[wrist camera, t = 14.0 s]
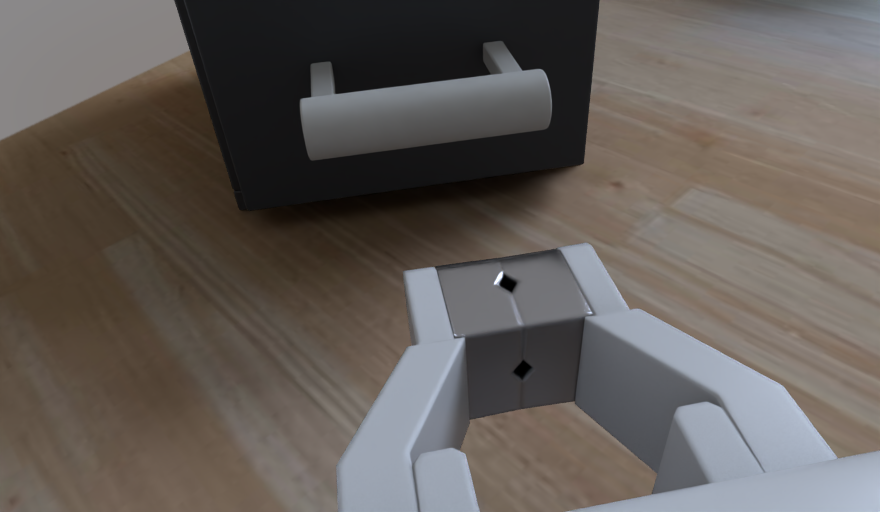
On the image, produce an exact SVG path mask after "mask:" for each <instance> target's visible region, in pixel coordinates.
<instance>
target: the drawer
mask: <svg viewBox="0 0 880 512" xmlns="http://www.w3.org/2000/svg"><path fill="white" fill-rule="evenodd" d="M184 2H185V5H186V9H187V12H188V15H189V19H190V22H191V25H192V29H193V32H194V35H195V39H196V42H197V45H198V49H199V52H200V55H201V59H202V62H203V65H204V69H205V72H206V75H207V79H208V82H209V85H210V89H211V92H212V95H213V99H214V102H215V105H216V109H217V112H218V115H219V119H220V122H221V125H222V128H223V132H224V135H225V138H226V142H227V145H228V148H229V152H230V155H231V158H232V162H233V165H234V168H235V172H236V175H237V178H238V182H239V185H240V188H241V192H242V195H243V198H244V202H245V205H246V208H247V210H248V211H252V210H259V209H266V208H273V207H280V206H287V205H295V204H302V203H309V202H316V201H323V200H330V199H337V198H345V197H352V196H359V195H366V194H373V193H380V192H387V191H395V190H402V189H409V188H416V187H423V186H430V185H437V184H444V183H452V182H459V181H466V180H473V179H480V178H487V177H494V176H502V175H509V174H516V173H523V172H530V171H537V170H544V169H552V168H559V167H566V166H573V165H580V164H583V163H584V155H585V145H586V134H587V124H588V114H589V103H590V93H591V83H592V72H593V62H594V52H595V42H596V31H597V21H598V11H599V0H184Z"/></svg>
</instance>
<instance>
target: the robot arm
mask: <svg viewBox="0 0 880 512" xmlns="http://www.w3.org/2000/svg"><path fill="white" fill-rule="evenodd" d="M403 280H404V289H405V297H406V305H407V313H408V321H409V329H410V336H411V343H412V346H409V347H407V348H406V350H405V351H404V353H403V355H402V356H401V358H400V360H399V361H398V363H397V365H396V366H395V368H394V370H393V371H392V373H391V375H390V376H389V378H388V380H387V381H386V383H385V385H384V386H383V388H382V390H381V392H380V393H379V395H378V397H377V398H376V400H375V402H374V403H373V405H372V407H371V408H370V410H369V412H368V413H367V415H366V417H365V418H364V420H363V422H362V423H361V425H360V427H359V428H358V430H357V432H356V433H355V435H354V437H353V439H352V440H351V442H350V444H349V445H348V447H347V449H346V450H345V452H344V454H343V455H342V457H341V459H340V460H339V462H338V464H337V465H336V470H337V495H338V512H480V511H479V507H478V503H477V499H476V495H475V491H474V487H473V483H472V479H471V475H470V470H469V466H468V462H467V458H466V454H464V453H462V452H460V448H461V445H462V443H463V440H464V437H465V435H466V432H467V429H468V426H469V424H470V420H471V419H476V418H481V417H485V416H490V415H495V414H500V413H505V412H510V411H515V410H519V409H526V408H532V407H539V406H546V405H552V404H559V403H566V402H572V401H575V404H576V405H577V406H578V407H579V408H581V409H582V410H583V411H584V412H585V413H586V414H588V415H589V416H590V417H591V418H592V419H593V420H595V421H596V422H597V423H598V424H599V425H601V426H602V427H603V428H604V429H605V430H606V431H608V432H609V433H610V434H611V435H612V436H614V437H615V438H616V439H617V440H618V441H619V442H621V443H622V444H623V445H624V446H625V447H627V448H628V449H629V450H630V451H631V452H632V453H634V454H635V455H636V456H637V457H638V458H640V459H641V460H642V461H643V462H644V463H645V464H647V465H648V466H649V467H650V468H651V469H652V470H654V471H655V472H656V473H657V477H656V481H655V484H654V488H653V492H652V495H648V496H643V497H638V498H633V499H628V500H622V501H617V502H612V503H607V504H602V505H597V506H592V507H587V508H581V509H576V510H571V511H566V512H880V450H879V451H874V452H869V453H864V454H859V455H854V456H848V457H843V458H837V457H836V455H835V454H834V453H833V451H832V450H831V449H830V447H829V446H828V445H827V443H826V442H825V441H824V439H823V438H822V437H821V435H820V434H819V433H818V431H817V430H816V429H815V427H814V426H813V425H812V423H811V422H810V421H809V419H808V418H807V417H806V416H805V414H804V413H803V412H802V410H801V409H800V408H799V406H798V405H797V404H796V402H795V401H794V400H793V398H792V397H791V396H790V394H789V393H788V392H787V390H786V389H785V388H784V386H782V385H780V384H779V383H777V382H775V381H773V380H771V379H769V378H767V377H766V376H764V375H762V374H760V373H758V372H756V371H754V370H753V369H751V368H749V367H747V366H745V365H743V364H741V363H740V362H738V361H736V360H734V359H732V358H730V357H728V356H727V355H725V354H723V353H721V352H719V351H717V350H715V349H714V348H712V347H710V346H708V345H706V344H704V343H702V342H701V341H699V340H697V339H695V338H693V337H691V336H689V335H687V334H686V333H684V332H682V331H680V330H678V329H676V328H674V327H673V326H671V325H669V324H667V323H665V322H663V321H661V320H660V319H658V318H656V317H654V316H652V315H650V314H648V313H647V312H645V311H643V310H641V309H639V308H638V309H632V310H630V309H629V308H628V306H627V304H626V302H625V301H624V299H623V297H622V296H621V294H620V292H619V291H618V289H617V287H616V286H615V284H614V282H613V281H612V279H611V277H610V276H609V274H608V272H607V271H606V269H605V267H604V266H603V264H602V262H601V261H600V259H599V257H598V256H597V254H596V252H595V250H594V249H593V247H592V246H591V245H590V244H588V243H582V244H576V245H570V246H565V247H559V248H556V249H551V250H545V251H539V252H533V253H526V254H520V255H514V256H508V257H501V258H494V259H486V260H479V261H471V262H463V263H456V264H448V265H441V266H435V268H434V267H429V268H422V269H414V270H407V271H403Z"/></svg>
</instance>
